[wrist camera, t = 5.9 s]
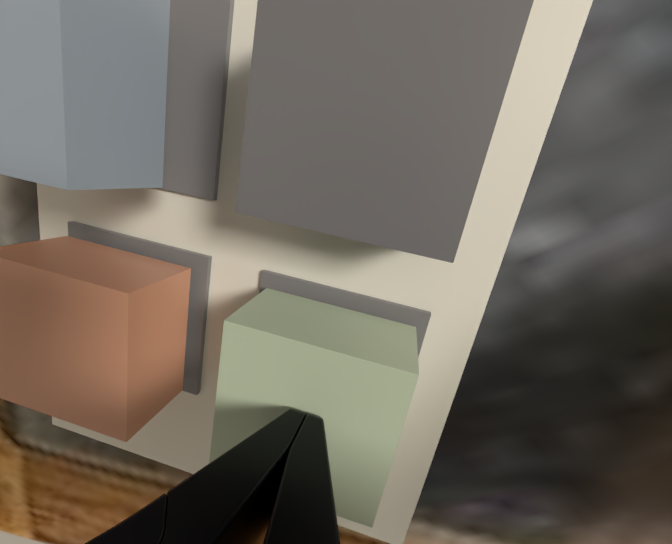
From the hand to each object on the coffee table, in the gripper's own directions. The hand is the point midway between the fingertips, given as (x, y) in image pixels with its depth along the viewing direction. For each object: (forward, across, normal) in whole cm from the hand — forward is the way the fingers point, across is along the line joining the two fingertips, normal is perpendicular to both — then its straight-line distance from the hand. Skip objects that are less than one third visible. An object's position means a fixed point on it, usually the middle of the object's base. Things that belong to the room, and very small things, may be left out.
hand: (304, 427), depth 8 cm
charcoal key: (+3, 0, -7) cm, 7 cm away
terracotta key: (+2, +7, 0) cm, 7 cm away
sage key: (+3, 0, 0) cm, 3 cm away
